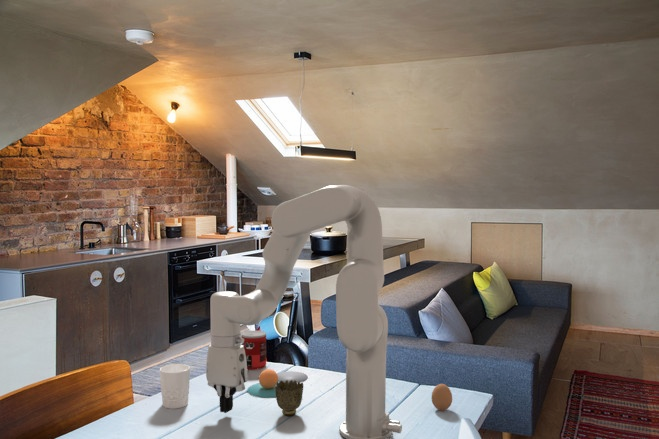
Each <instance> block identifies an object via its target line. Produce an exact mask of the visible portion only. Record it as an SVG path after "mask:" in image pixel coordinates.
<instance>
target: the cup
mask: <svg viewBox="0 0 659 439" xmlns="http://www.w3.org/2000/svg"><path fill="white" fill-rule="evenodd" d="M303 382H304V381H303ZM303 382H300V381H299V382H298V383H297V382H296V381H295V380H294V382H293V381H292V380H291V381H290V382H289V383H288V380H286V382H285V383H284V382H283V381H280V382H279V383H278V382H277V383H276V386H275V392H276V397H275V399H276V403H277V405H278V407H279V409H281V412H282V415H283V416H285V417H293V416H295V415H296V414H297V409H298V408H299V407H300V406H301V403H302V400H303V394H304V393H303V392H304V387H305V386H304V383H303Z"/></svg>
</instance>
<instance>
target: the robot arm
mask: <svg viewBox="0 0 659 439" xmlns="http://www.w3.org/2000/svg"><path fill="white" fill-rule="evenodd" d="M379 209H380V208H378V205H377V203H376V202H375V201H374V200H373V198H372V196H371V195H369V194H368V193H366V192H365V191H363V190H362V189H359V188H358V187H355V186H353V185H349V184H339V185H338V184H336V185H335V184H334V185H327V186H324V187H322V188H319V189H317V190H314V191H312V192H308V193H305V194H303V195H301V196H298V197H296V198H295V197H294V198H292V199H290V200H286V201H283V202H281V203H279V204H278V205H277V206H276V207H275V209H274V210H273V212H272V215H271V221H270V222H271V227H272V229H273V230H272V232H271V234H270V236H269V238H268V240H267V242H266V244H265V246H264V248H263V250H262V258H263V261H264V270H263V272H262V275H261V277H260V279H259V281H258V283H257V285H256V287H255V289H254V290H252V291H251V292H249V293H246V294H244V295H243V294H242V295H240V294H239V293H237V292H235V291H232V290H231V291H229V290H225V291H224V290H223V291H221V290H220V291H217V292H214V293H212V295H211V296H210V301H209V302H210V307H209V308H210V309H209V310H210V344H209V346H208V349H207V355H206V365H205V367H206V368H205V369H206V371H205V376H206V381H207V386H209V387H211V388H213V389H214V390H215V392H216V394H217V396H218V397H219V411H220V413H225V414H227V413H229V412H230V411H232V410H233V407H234V395H235V394H236V393H239V392H243V391H245V390H246V385H245V383H246V382H248V369H247V362H246V355H245V350H244V346H243V345H241V343H244V338H241V335H242V333H241V325H242V326H254V325H256V324H258V323H260V322H262V321H264V320H265V319H266V318H268V317H269V316H271V315H273V313H275V311H276V309H277V307H278V306H279V304H280V302H281V300H282V298H283V296H284V294H285V293H286V291H287V289H288V286H289V283H290V280H291V278H292V274H293V270H294V267H295V266H296V263H297V261H298V259H299V257H300V255H301V253H302V251H303V249H304V247H305V245H306V244H307V242H308V240H309V238H310V236H311V234H312V232H314V231H318V230H320V229H323V228H325V227H329V226H331V225H334V224H338V223H341V222H345V223H346V227H347V234H346V253H347V254H346V255H347V256H346V264H345V265H344V266H343V267H342V268H341V269H340V271H339V273H338V275H337V278H336V283H335V306H336V307H335V309H336V310H335V311H336V312H335V313H336V314H335V315H336V318H335V319H336V331H337V332H336V333H337V336H338V339H339V341H340V343H341V344H342V345H343V347H344V348H346V358H345V361H346V362H345V420H344V421H343V422H342V423H340V425H339V431H338V432H339V434H340V435H341V436H342V437H343V438H345V439H388V438H390V437H391V436H392V433H397V434H401V433H402V431H403V430H402V429H403V425H402V424H401V421H399V420H392V419H391V418H390V413H389V412H386V391H387V390H386V388H387V387H386V384H387V383H386V379H387V377H386V373H387V347H388V346H387V345H388V334H389V321H388V316H387V314H386V311H385V310H384V308H383V307H382V306H381V305H380V304H379V292H380V291H381V290H382V288H383V286H384V283H385V268H384V245H383V225H382V224H383V223H382V216H381V213H380V210H379Z"/></svg>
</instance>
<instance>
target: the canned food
mask: <svg viewBox="0 0 659 439" xmlns="http://www.w3.org/2000/svg"><path fill="white" fill-rule="evenodd" d="M241 338H244V343H241V345H243V346H244V350H245V355H246V362H247V371H248V370H250V371H251V370H253V371H255V370H257V371H258V370H261V369H265V367H266V365H267V333H266V332H265V331H262V330H247V331H243V332H242V333H241Z"/></svg>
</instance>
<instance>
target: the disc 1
mask: <svg viewBox="0 0 659 439" xmlns="http://www.w3.org/2000/svg"><path fill="white" fill-rule="evenodd" d="M278 383H279V382H278ZM247 393H248V394H249V395H250V396H253V397H257V398H264V399H265V398H267V399H272V398H273V399H274V398H276V392H275V387H273V388H271V389H265V388H263V387H262V386H261V385H260V383H259V382H258V383H255V384H252V385H250V386H248V388H247Z"/></svg>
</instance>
